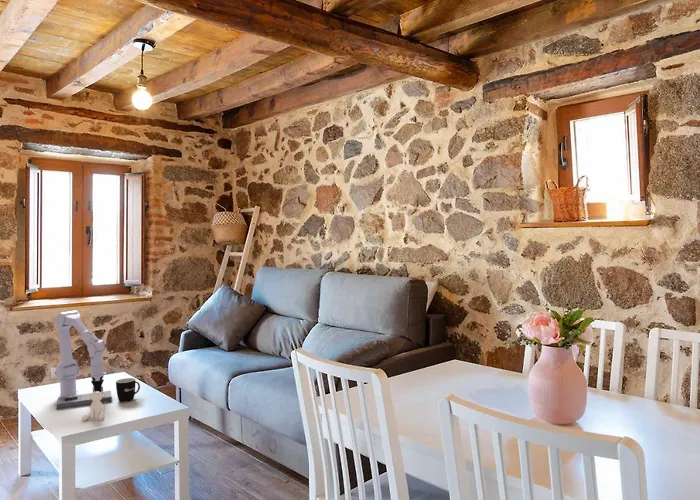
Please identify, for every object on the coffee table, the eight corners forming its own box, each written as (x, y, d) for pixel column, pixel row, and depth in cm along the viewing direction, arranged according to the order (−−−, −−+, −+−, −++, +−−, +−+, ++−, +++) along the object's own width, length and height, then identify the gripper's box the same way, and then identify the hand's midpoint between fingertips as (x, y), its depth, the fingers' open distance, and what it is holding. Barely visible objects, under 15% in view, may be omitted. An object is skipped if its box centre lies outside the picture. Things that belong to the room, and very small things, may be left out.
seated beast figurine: (80, 421, 233) (79, 394, 233) (90, 415, 242) (89, 389, 242) (102, 421, 233) (101, 394, 233) (110, 414, 242) (110, 388, 242)
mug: (122, 404, 257) (122, 383, 257) (112, 401, 263) (112, 381, 263) (145, 398, 267) (144, 378, 267) (135, 395, 272) (134, 375, 272)
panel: (58, 402, 263) (58, 397, 263) (111, 395, 273) (110, 390, 273) (56, 409, 252) (56, 403, 252) (111, 401, 262) (111, 396, 262)
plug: (93, 400, 266) (92, 386, 266) (103, 398, 268) (102, 384, 268) (93, 402, 262) (92, 388, 262) (103, 400, 264) (103, 386, 264)
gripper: (106, 367, 260) (107, 394, 260) (105, 361, 273) (106, 387, 273) (90, 368, 257) (91, 396, 257) (90, 363, 270) (91, 389, 270)
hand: (98, 391), depth 265 cm, fingers open, 7 cm apart
